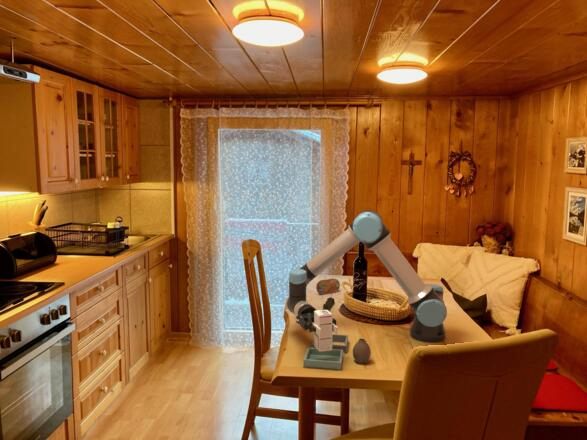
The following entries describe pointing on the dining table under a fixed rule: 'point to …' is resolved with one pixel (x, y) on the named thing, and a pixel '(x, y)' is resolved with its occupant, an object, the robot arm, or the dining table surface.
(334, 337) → the bin
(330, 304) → the hand tool
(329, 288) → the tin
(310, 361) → the bin
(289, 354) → the dining table surface
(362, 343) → the vase
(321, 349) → the syrup box
